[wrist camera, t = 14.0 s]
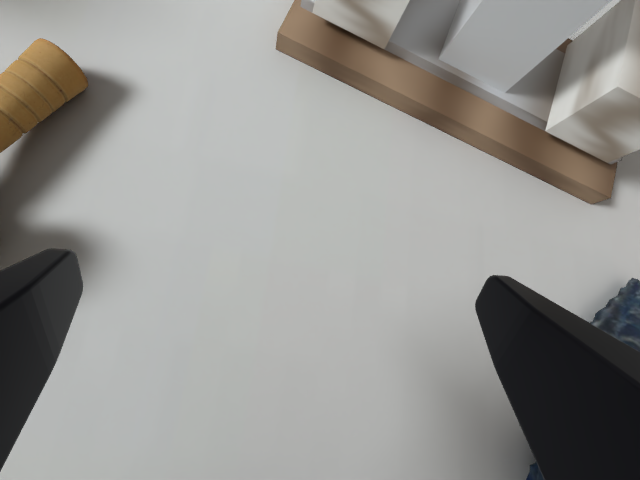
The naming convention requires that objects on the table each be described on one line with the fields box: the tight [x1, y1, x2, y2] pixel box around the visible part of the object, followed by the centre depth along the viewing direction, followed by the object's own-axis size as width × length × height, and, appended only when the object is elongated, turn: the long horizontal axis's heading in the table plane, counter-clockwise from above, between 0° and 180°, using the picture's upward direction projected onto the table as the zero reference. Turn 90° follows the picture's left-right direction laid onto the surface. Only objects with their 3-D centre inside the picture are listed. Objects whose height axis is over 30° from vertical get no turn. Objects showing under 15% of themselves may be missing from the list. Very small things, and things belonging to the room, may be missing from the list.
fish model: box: [526, 278, 640, 480], centre depth 21 cm, size 7×21×5 cm, turn 146°
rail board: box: [276, 0, 640, 204], centre depth 24 cm, size 25×11×7 cm, turn 68°
